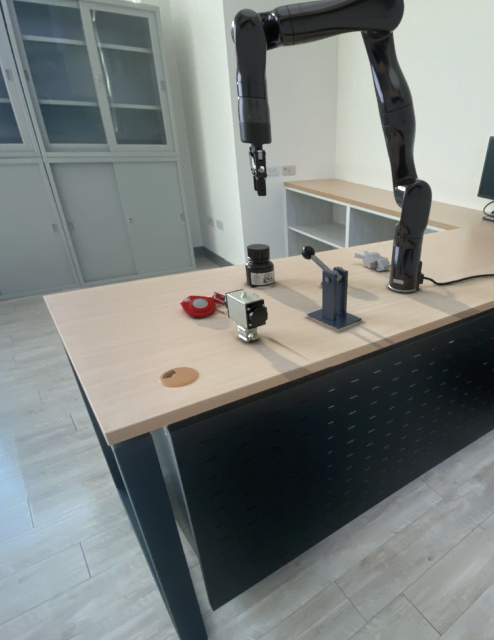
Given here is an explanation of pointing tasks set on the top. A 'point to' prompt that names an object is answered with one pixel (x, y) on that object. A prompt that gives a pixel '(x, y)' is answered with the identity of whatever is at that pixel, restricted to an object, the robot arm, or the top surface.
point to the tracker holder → (202, 305)
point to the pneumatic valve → (246, 312)
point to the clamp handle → (318, 261)
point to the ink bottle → (259, 266)
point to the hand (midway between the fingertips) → (260, 193)
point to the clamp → (334, 301)
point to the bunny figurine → (374, 260)
